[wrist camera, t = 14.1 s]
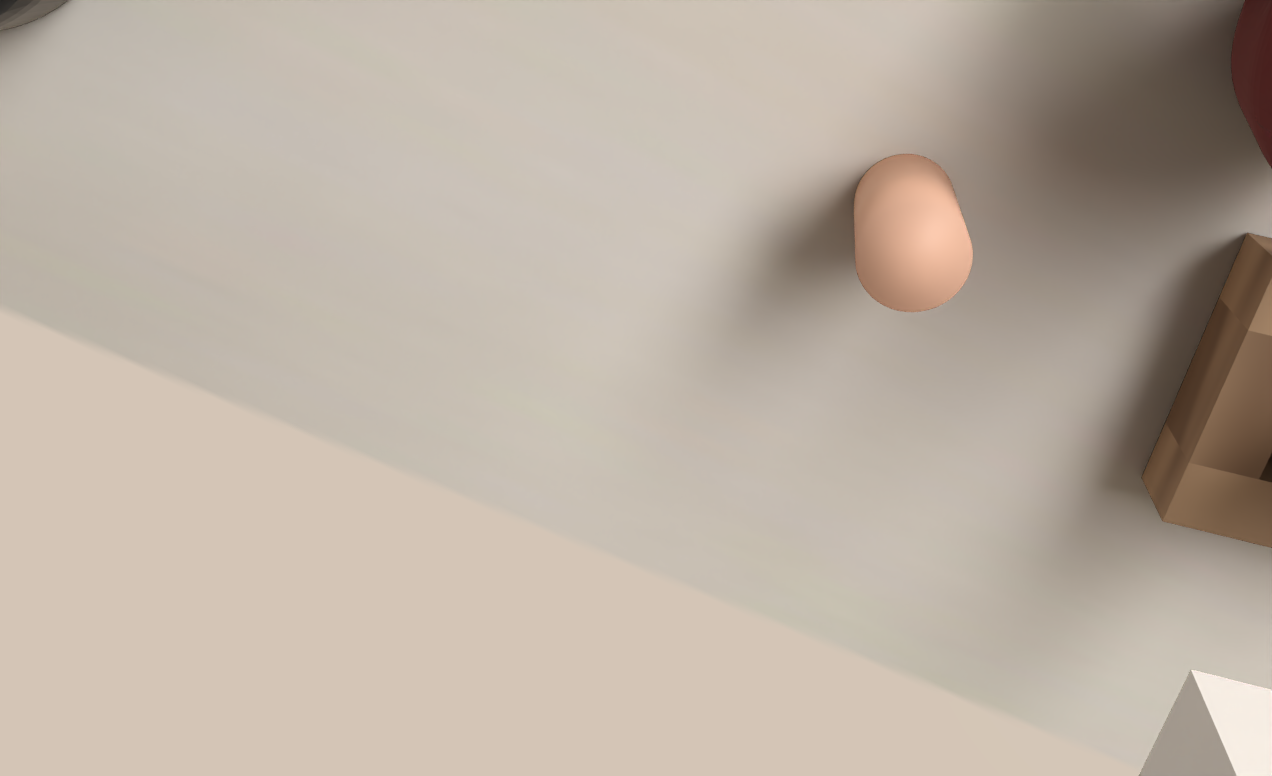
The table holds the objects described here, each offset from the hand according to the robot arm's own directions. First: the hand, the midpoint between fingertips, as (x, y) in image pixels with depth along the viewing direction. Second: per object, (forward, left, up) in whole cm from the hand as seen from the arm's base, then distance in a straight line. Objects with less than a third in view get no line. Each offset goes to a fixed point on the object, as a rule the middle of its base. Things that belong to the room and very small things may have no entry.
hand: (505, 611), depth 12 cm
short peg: (+6, -2, -29) cm, 29 cm away
